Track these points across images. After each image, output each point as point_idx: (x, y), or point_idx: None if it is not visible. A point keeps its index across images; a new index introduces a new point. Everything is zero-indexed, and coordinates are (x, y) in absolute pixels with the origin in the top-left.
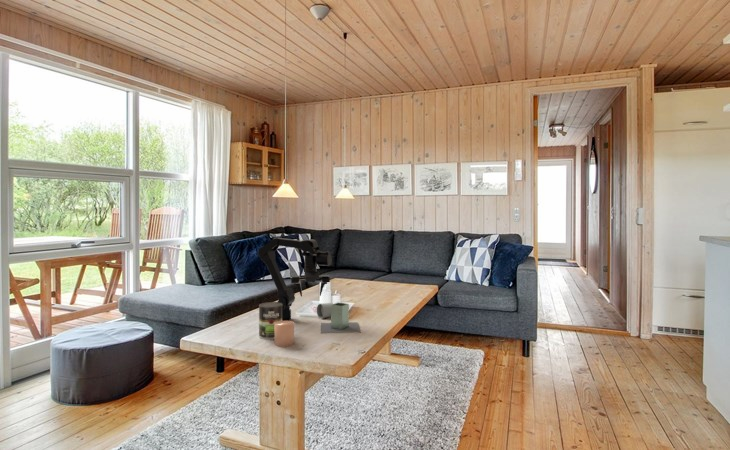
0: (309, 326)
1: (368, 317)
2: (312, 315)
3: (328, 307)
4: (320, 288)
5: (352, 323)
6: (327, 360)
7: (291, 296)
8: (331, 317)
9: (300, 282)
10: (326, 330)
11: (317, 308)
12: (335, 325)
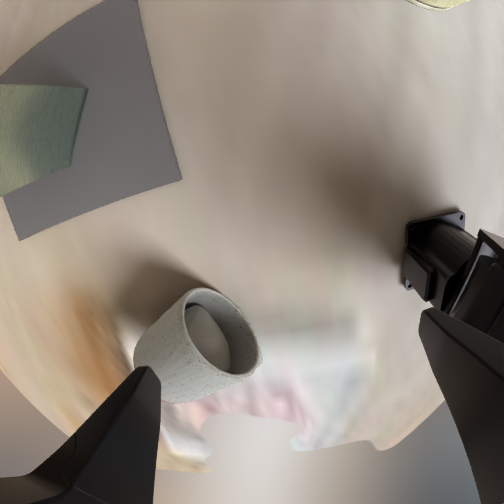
0: (248, 112)
1: (34, 325)
2: (288, 342)
3: (158, 347)
4: (87, 456)
5: (26, 215)
6: None
7: (489, 330)
8: (43, 85)
9: (501, 496)
10: (107, 39)
11: (253, 361)
12: (53, 85)
